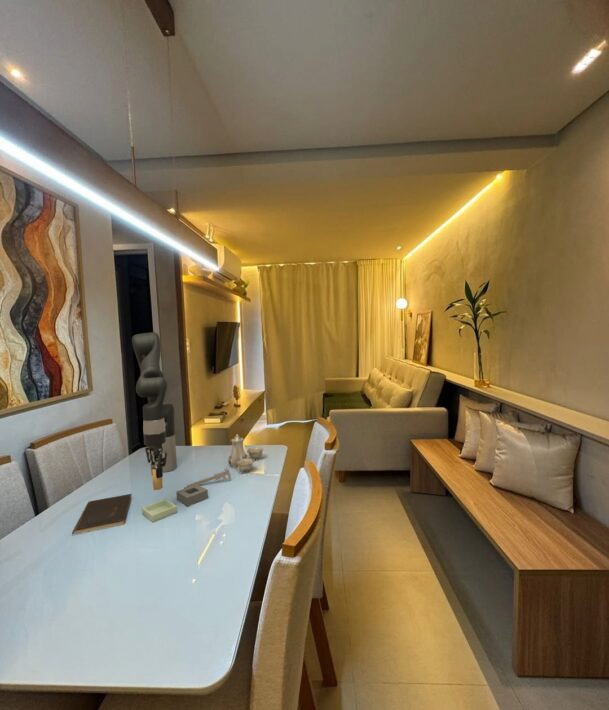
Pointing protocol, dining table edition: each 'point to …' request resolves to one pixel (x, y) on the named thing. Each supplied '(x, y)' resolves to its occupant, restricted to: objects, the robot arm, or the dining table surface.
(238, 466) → the chinaware
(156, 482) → the fuse
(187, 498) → the socket block
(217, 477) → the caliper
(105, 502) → the hardcover book
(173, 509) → the parts tray
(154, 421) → the robot arm
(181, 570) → the dining table surface
